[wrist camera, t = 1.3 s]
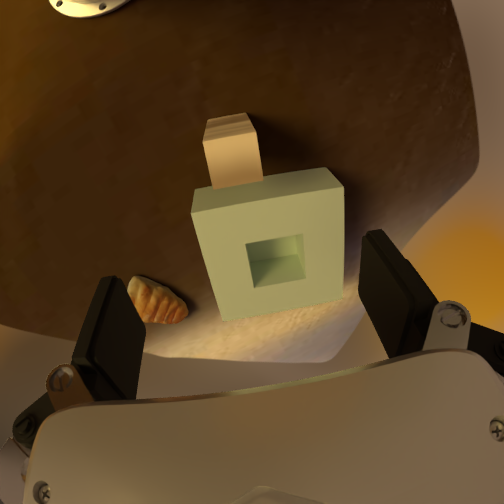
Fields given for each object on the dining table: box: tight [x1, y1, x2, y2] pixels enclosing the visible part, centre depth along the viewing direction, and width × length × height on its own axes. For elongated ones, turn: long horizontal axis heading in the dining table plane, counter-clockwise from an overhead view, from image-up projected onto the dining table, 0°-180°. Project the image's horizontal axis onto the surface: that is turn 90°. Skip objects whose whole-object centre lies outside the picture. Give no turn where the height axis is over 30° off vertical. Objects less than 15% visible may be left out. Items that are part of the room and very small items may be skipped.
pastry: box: [127, 276, 188, 324], centre depth 42 cm, size 9×7×4 cm
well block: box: [191, 167, 344, 322], centre depth 36 cm, size 15×15×6 cm
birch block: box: [203, 113, 264, 190], centre depth 28 cm, size 4×4×10 cm
